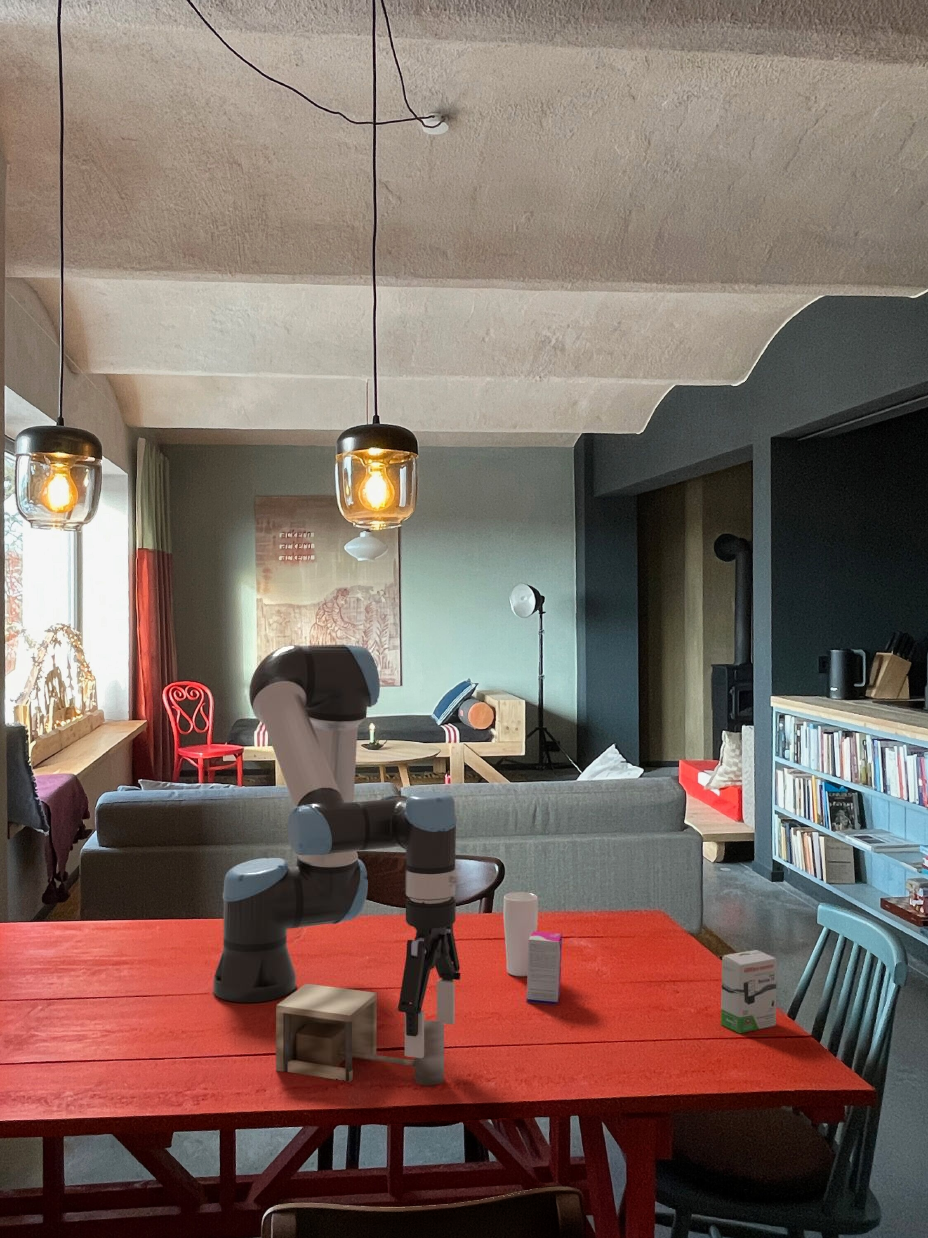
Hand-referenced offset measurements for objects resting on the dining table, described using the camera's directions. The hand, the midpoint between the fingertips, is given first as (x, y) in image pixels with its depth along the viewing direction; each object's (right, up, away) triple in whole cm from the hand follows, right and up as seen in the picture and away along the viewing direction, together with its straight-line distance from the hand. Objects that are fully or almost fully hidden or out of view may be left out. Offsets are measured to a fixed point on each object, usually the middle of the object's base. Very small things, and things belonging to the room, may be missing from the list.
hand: (430, 1039), depth 156 cm
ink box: (+54, -7, +22) cm, 59 cm away
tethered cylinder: (-9, -6, +3) cm, 12 cm away
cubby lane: (-16, -6, +6) cm, 18 cm away
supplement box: (+20, -7, +34) cm, 40 cm away
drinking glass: (+16, -7, +48) cm, 51 cm away
